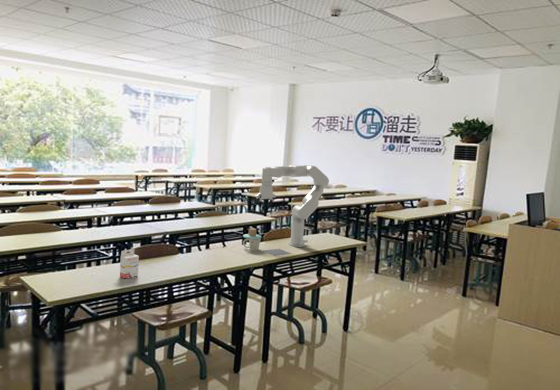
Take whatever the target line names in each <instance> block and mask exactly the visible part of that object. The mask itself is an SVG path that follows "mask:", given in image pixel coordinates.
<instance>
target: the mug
mask: <svg viewBox="0 0 560 390" xmlns="http://www.w3.org/2000/svg"><path fill="white" fill-rule="evenodd" d="M261 238H262V237H261ZM261 238H259V239H248V238H244V240H243V241H242V245H243V247H244V248H247V249H249V250H250V251H258V250H259V249H260V243H261ZM247 241H249V243H248V244H249V246H247V245H246V244H245V243H246V242H247Z"/></svg>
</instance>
